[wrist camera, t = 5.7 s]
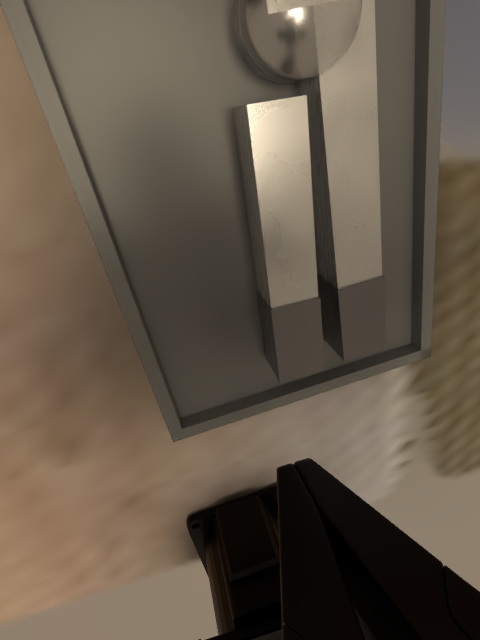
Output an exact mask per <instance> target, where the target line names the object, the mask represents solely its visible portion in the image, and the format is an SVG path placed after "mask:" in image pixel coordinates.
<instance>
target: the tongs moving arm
mask: <svg viewBox="0 0 480 640" xmlns="http://www.w3.org/2000/svg"><path fill="white" fill-rule="evenodd" d="M233 115H234V122H235V130H236V137H237V144H238V151H239V159H240V166H241V173H242V181H243V188H244V195H245V203H246V210H247V217H248V224H249V232H250V239H251V246H252V254H253V261H254V268H255V276H256V283H257V290H258V291H257V298H258V305H259V313H260V320H261V327H262V334H263V342H264V349H265V356H266V359H267V361H268V363H269V365H270V366H271V368H272V370H273V372H274V373H275V375H276V377H277V379H278V380H279V382H280V383H281V382H285V381H288V380H292V379H296V378H299V377H303V376H307V375H310V374H314V373H317V372H321V371H324V354H323V335H322V317H321V299H320V297H319V296H318V284H317V266H316V249H315V231H314V214H313V196H312V179H311V161H310V144H309V126H308V109H307V95H303V96H297V97H291V98H285V99H279V100H273V101H267V102H261V103H255V104H249V105H243V106H239V107H234V108H233Z"/></svg>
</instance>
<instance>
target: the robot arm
mask: <svg viewBox="0 0 480 640" xmlns="http://www.w3.org/2000/svg"><path fill="white" fill-rule="evenodd" d="M187 527H188V531H189V533H190V535H191V538H192V540H193V542H194V545H195V547H196V549H197V552H198V554H199V556H200V558H201V561H202V563H203V565H204V567H205V570H206V572H207V575H208V577H209V581H210V587H211V592H212V598H213V604H214V611H215V617H216V623H217V629H218V634H219V635H218V636H215V637H212V638H209V639H206V640H480V592H479V591H478V590H477V589H475V588H474V587H473V586H471V585H470V584H469V583H467V582H466V581H465V580H463V579H462V578H461V577H459V576H458V575H457V574H456V573H455V572H453V571H452V570H451V569H450V568H448V567H447V566H443V564H442V562H441V561H439V560H438V559H437V558H435V557H434V556H433V555H432V554H431V553H429V552H428V551H427V550H426V549H424V548H423V547H422V546H420V545H419V544H418V543H417V542H415V541H414V540H413V539H412V538H410V537H409V536H408V535H407V534H405V533H404V532H403V531H402V530H400V529H399V528H398V527H396V526H395V525H394V524H393V523H391V522H390V521H389V520H388V519H386V518H385V517H384V516H383V515H381V514H380V513H379V512H378V511H376V510H375V509H374V508H373V507H371V506H370V505H369V504H368V503H366V502H365V501H364V500H362V499H361V498H360V497H359V496H357V495H356V494H355V493H354V492H352V491H351V490H350V489H349V488H347V487H346V486H345V485H344V484H342V483H341V482H340V481H339V480H337V479H336V478H335V477H334V476H332V475H331V474H330V473H328V472H327V471H326V470H325V469H323V468H322V467H321V466H320V465H318V464H317V463H316V462H315V461H313V460H312V459H309V458H307V459H304V460H300V461H297V462H295V463H294V465H293V464H287V465H284V466H280V467H278V468H277V485H276V486H273V487H270V488H267V489H265V490H262V491H259V492H256V493H253V494H251V495H248V496H245V497H242V498H239V499H237V500H234V501H231V502H228V503H225V504H223V505H220V506H217V507H214V508H211V509H209V510H206V511H203V512H200V513H197V514H195V515H192V516H190V517H189V518H188V519H187ZM199 640H201V639H199Z"/></svg>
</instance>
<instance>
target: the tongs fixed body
mask: <svg viewBox="0 0 480 640" xmlns="http://www.w3.org/2000/svg"><path fill="white" fill-rule="evenodd" d="M232 25H233V33H234V38H235V42H236V45H237V48H238V50H239V52H240V55H241V57H242V58H243V60H244V62H245V63H246V64H247V66H248V67H249V68H250V69H251V70H252V71H253V72H254V73H255V74H256V75H258V76H259V77H260V78H262V79H264V80H266V81H268V82H271V83H276V84H289V83H293V82H296V84H297V93H298V96H303V95H307V109H308V126H309V144H310V161H311V179H312V196H313V214H314V231H315V249H316V261H317V270H318V274H317V279H318V288H319V297H320V299H321V314H322V323H323V332H324V340H325V341H326V342H327V343H328V344H329V346H330V347H331V348H332V349H333V350H334V351H335V352H336V353H337V354H338V355H339V357H340V358H341V359H342V360H343V361H344V362H345V361H349V360H352V359H355V358H358V357H361V356H364V355H367V354H370V353H373V352H376V351H379V350H382V349H385V348H386V311H385V277H384V276H383V275H382V249H381V213H380V176H379V140H378V104H377V67H376V31H375V0H234V4H233V13H232Z"/></svg>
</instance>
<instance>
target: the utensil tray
mask: <svg viewBox="0 0 480 640" xmlns="http://www.w3.org/2000/svg"><path fill="white" fill-rule="evenodd" d="M0 4H1V6H2V9H3V11H4V14H5V16H6V19H7V21H8V24H9V27H10V29H11V32H12V34H13V37H14V39H15V42H16V44H17V47H18V49H19V52H20V54H21V57H22V60H23V62H24V65H25V67H26V70H27V72H28V75H29V77H30V80H31V82H32V85H33V87H34V90H35V93H36V95H37V98H38V100H39V103H40V105H41V108H42V110H43V113H44V115H45V118H46V120H47V123H48V125H49V128H50V131H51V133H52V136H53V138H54V141H55V143H56V146H57V148H58V151H59V153H60V156H61V158H62V161H63V164H64V166H65V169H66V171H67V174H68V176H69V179H70V181H71V184H72V186H73V189H74V191H75V194H76V197H77V199H78V202H79V204H80V207H81V209H82V212H83V214H84V217H85V219H86V222H87V224H88V227H89V229H90V232H91V235H92V237H93V240H94V242H95V245H96V247H97V250H98V252H99V255H100V257H101V260H102V262H103V265H104V268H105V270H106V273H107V275H108V278H109V280H110V283H111V285H112V288H113V290H114V293H115V295H116V298H117V301H118V303H119V306H120V308H121V311H122V313H123V316H124V318H125V321H126V323H127V326H128V328H129V331H130V334H131V336H132V339H133V341H134V344H135V346H136V349H137V351H138V354H139V356H140V359H141V361H142V364H143V366H144V369H145V372H146V374H147V377H148V379H149V382H150V384H151V387H152V389H153V392H154V394H155V397H156V399H157V402H158V405H159V407H160V410H161V412H162V415H163V417H164V420H165V422H166V425H167V427H168V430H169V432H170V435H171V438H172V440H173V442H175V441H178V440H181V439H184V438H187V437H190V436H193V435H196V434H199V433H202V432H205V431H208V430H211V429H214V428H217V427H220V426H223V425H226V424H229V423H232V422H235V421H238V420H241V419H244V418H247V417H250V416H253V415H256V414H259V413H262V412H265V411H268V410H271V409H274V408H277V407H280V406H283V405H286V404H289V403H292V402H295V401H298V400H301V399H304V398H307V397H310V396H313V395H316V394H319V393H322V392H325V391H328V390H331V389H334V388H337V387H340V386H343V385H346V384H349V383H352V382H355V381H359V380H362V379H365V378H368V377H371V376H374V375H377V374H380V373H383V372H386V371H389V370H392V369H395V368H398V367H401V366H404V365H407V364H410V363H413V362H416V361H419V360H422V359H425V358H428V357H431V343H432V320H433V296H434V272H435V248H436V225H437V201H438V177H439V154H440V130H441V106H442V82H443V81H442V80H443V58H444V35H445V9H446V0H375V31H376V67H377V104H378V140H379V176H380V213H381V249H382V275H383V276H384V277H385V311H386V348H385V349H382V350H379V351H376V352H373V353H370V354H367V355H364V356H361V357H358V358H355V359H352V360H349V361H345V362H344V361H343V360H342V359H341V358H340V357H339V355H338V354H337V353H336V352H335V351H334V350H333V349H332V348H331V347H330V346H329V344H328V343H327V342H326V341H325V340H324V332H323V323H322V335H323V354H324V371H321V372H317V373H314V374H310V375H307V376H303V377H299V378H296V379H292V380H288V381H285V382H281V383H280V382H279V380H278V379H277V377H276V375H275V373H274V372H273V370H272V368H271V366H270V365H269V363H268V361H267V359H266V356H265V349H264V342H263V334H262V327H261V320H260V313H259V305H258V298H257V291H258V290H257V283H256V276H255V268H254V261H253V254H252V246H251V239H250V232H249V224H248V217H247V210H246V203H245V195H244V188H243V181H242V173H241V166H240V159H239V151H238V144H237V137H236V130H235V122H234V115H233V108H234V107H239V106H243V105H249V104H255V103H261V102H267V101H273V100H279V99H285V98H291V97H297V96H298V93H297V84H296V82H293V83H289V84H276V83H271V82H268V81H266V80H264V79H262V78H260V77H259V76H258V75H256V74H255V73H254V72H253V71H252V70H251V69H250V68H249V67H248V66H247V64H246V63H245V62H244V60H243V58H242V57H241V55H240V52H239V50H238V48H237V45H236V42H235V38H234V33H233V25H232V13H233V4H234V0H0ZM316 266H317V261H316ZM317 274H318V270H317ZM317 284H318V279H317ZM318 296H319V288H318ZM321 317H322V314H321Z"/></svg>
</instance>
